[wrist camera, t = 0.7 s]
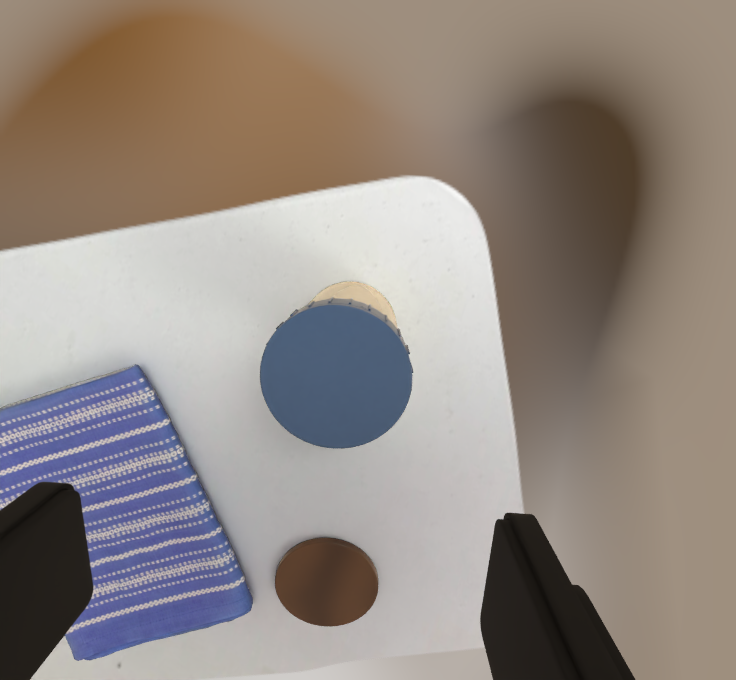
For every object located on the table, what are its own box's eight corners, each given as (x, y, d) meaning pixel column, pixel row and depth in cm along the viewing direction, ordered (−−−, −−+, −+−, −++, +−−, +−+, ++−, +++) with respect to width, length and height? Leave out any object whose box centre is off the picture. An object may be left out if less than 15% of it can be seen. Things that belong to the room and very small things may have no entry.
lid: (416, 301, 20) (420, 308, 19) (404, 435, 22) (407, 454, 20) (268, 292, 20) (257, 298, 19) (269, 427, 22) (259, 445, 20)
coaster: (381, 540, 35) (381, 545, 34) (375, 623, 37) (375, 629, 37) (276, 534, 35) (274, 539, 34) (276, 617, 37) (274, 623, 37)
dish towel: (93, 640, 38) (72, 672, 36) (-45, 420, 33) (-83, 437, 30) (263, 598, 37) (253, 628, 34) (147, 358, 31) (125, 370, 28)
